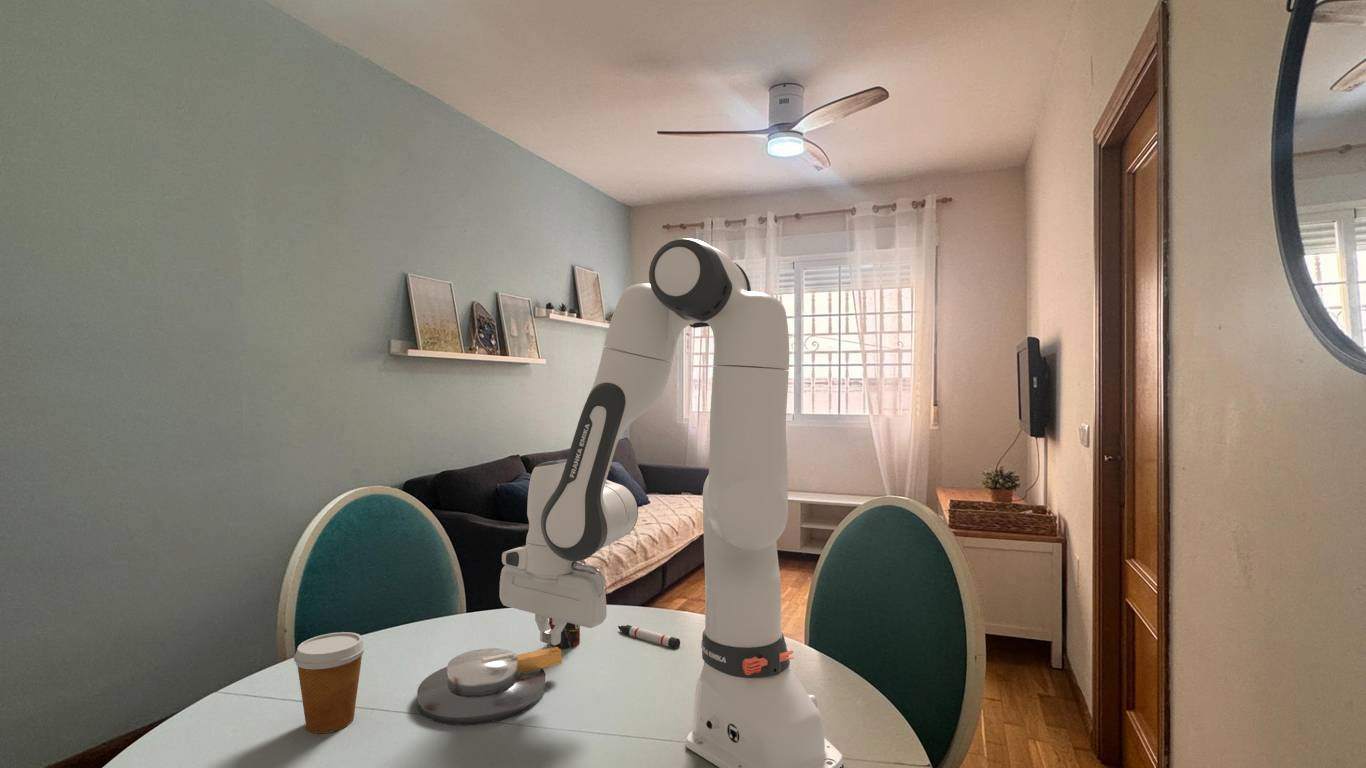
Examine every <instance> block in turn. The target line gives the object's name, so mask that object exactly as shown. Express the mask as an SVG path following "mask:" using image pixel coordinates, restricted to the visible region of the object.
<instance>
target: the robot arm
mask: <svg viewBox="0 0 1366 768" xmlns="http://www.w3.org/2000/svg"><path fill="white" fill-rule="evenodd" d="M648 280H649V282H647V283H646V282H644V283H642V282H641V283H637V284H636V283H635V284H632V285H630V286H628V287H626V288H625V289H624V290H623V292H622V293H621V295H620V297H619V299H618V301H617V303H616V306H615V309H614V311H613V314H612V317H611V318H610V322H609V325H608V328H607V331H606V336H605V340H604V344H603V348H602V353H601V356H600V357H601V358H600V362H599V363H598V364H599V365H598V369H597V372H596V375H595V379H594V382H593V385H592V387H591V389H590V393H588V396H587V398H586V401H585V403H584V406H583V408H582V412H581V414H580V417H579V420H578V423H577V425H576V429H575V433H574V436H573V439H572V442H571V444H570V445H571V446H570V449H569V452H568V455H567V458H563V459H556V460H551V461H545V462H541V463H538V464H537V465H536V466H535V467H534V468H533V470H532V472H531V475H530V479H529V484H528V493H527V505H526V506H527V507H526V509H527V510H526V511H527V512H526V515H527V519H528V524H529V526H528V527H529V528H528V532H527V534H526V538H525V540H526V541H525V544H524V545H522V546H518V547H515V548H512V549H508V550H506V551H503V552H502V554H501V563H502V565H504V566H503V567H502V568H501V571H500V577H499V578H500V579H499V599H500V602H501V604H502V605H503V606H505V607H508V608H512V609H516V610H520V611H522V612H523V611H524V612H526V613H530V614H534V620H535V622H536V625H537V628H538V630H539V635H540V637H539V641H540V642H542V643H545V644H548V645H549V644H552V645H557V644H559V643H560V641H561V632H562V631H563V629H564V627H565V625H566V624H567V622H568V623H572V624H576V625H580V627H583V628H584V627H585V628H588V629H592V628H595V627H597V626H599V625H601V624H603V622H605V620H606V619H607V598H606V588H605V579H606V578H605V575H604V574H603V573H602V571H600V570H599V568H598V567H597V566H596V565H587V564H585V563H581V562H582V561H585V560H586V559H589V558H590V557H591V556H593V555H595V554H596V553H597V552H599V551H601V549H603V548H606V547H607V546H610V545H612V544H614V543H615V542H618V541H619V540H621V539H622V538H624V537H625V536H627V535H628V534H630V533H631V532H632V531H633V530H634V528H635V526H636V524H637V521H638V517H639V506H638V503H637V499H636V497H635V495H634V494H633V492H632V491H631V490H630V489H629V488H628V487H627V486H625V485H623V484H621V483H617V482H613V481H611V480H608V475H609V473H610V469H611V464H612V462H613V458H614V455H615V451H616V448H617V445H618V443H619V441H620V439H621V437H622V435H623V434H624V432H625V431H626V430H627V428H628V427H629V426H630V425H631V424H632V423H633V422H634V421H635V420H636V419H637V418H639V417H640V416H641V415H643V414H644V413H645V412H647V411H649V410H650V409H651V408H653V407H655V405H656V404H657V403H658V402H659V401H660V399H661V397H662V395H663V393H664V391H665V388H666V386H667V384H668V381H669V378H670V373H671V370H672V366H673V361H674V356H675V350H676V347H677V346H676V345H677V343H678V339H679V337H680V334H681V333H682V332H683V330H684V329H685V328H687V327H691V328H693V329H694V328H695V329H697V328H706V327H710V329H711V331H712V334H713V338H714V339H713V342H714V350H713V351H714V352H713V353H714V354H713V362H712V364H713V366H712V382H711V394H710V395H711V396H710V411H709V412H710V413H709V458H708V459H709V465H708V466H709V467H708V475H707V476H706V478H705V481H704V482H703V487H702V488H703V489H702V520H703V521H702V525H703V553H704V554H703V558H704V560H703V561H704V593H705V594H704V599H705V600H704V602H705V603H704V608H705V609H704V623H705V624H704V625H705V628H704V630H703V631H702V638H701V643H700V644H701V646H700V649H701V657H702V660H703V661H704V662H703V667H702V670H701V673H700V675H699V678H698V680H697V681H696V682H697V683H696V687H695V695H694V706H693V707H694V708H693V709H694V710H693V717H692V718H693V720H692V729H691V731H690V732H689V733H688V734H687V736H686V739H685V746H686V748H687V749H689V750H690V751H692V752H694V753H695V754H697V755H699V756H700V757H702V758H703V759H705V760H707V761H708V762H710V763H711V764H713V765H715V766H716V767H718V768H840V767H841V768H842V766H843V764H844V759H843V758H844V757H843V754H842V753H841V752H840V751H839V750H838V749H837V748H836V747H835V746H834V745H833V744H832V743H831V742H830V741H829V740H828V739H827V738H826V737H825V732H824V723H823V719H822V715H821V713H820V711H819V709H818V701H817V699H816V696H815V695H814V694H810V693H809V694H808V693H807V691H806V689H805V688H804V686H803V685H802V683H801V682H800V681H799V679H798V677H797V676H796V674H795V673H794V672H793V669H792V668H791V666H790V665H791V664H790V663H791V662H790V661H791V660H793V659H795V658H794V656H790V655H792V654H793V653H794V650H788V646H787V642H786V639H785V637H784V633H783V632H782V592H781V591H782V579H781V574H780V573H781V572H780V571H781V570H780V565H779V555H778V546H777V540H778V539H779V538H780V537H781V535H782V534H783V533H784V531H785V529H786V526H787V523H788V519H789V518H788V517H789V502H788V501H789V499H788V498H789V496H788V495H789V480H788V479H789V475H788V473H789V472H788V471H789V470H788V469H789V468H788V447H787V444H788V443H787V430H786V429H787V428H786V427H787V406H788V393H789V392H788V389H789V374H790V373H789V372H790V371H789V370H790V340H789V339H790V337H789V325H788V319H787V318H788V317H787V312H786V308H785V307H784V305H783V304H782V302H781V301H780V300H779V299H778V298H776V297H774V296H772V295H770V294H767V293H764V292H759V291H752V287H751V283H750V280H749V277H748V275H747V273H746V272H745V270H744V269H743V268H742V267H741V266H740V265H739V264H737V263H736V262H735V261H733V260H732V259H731V258H730V257H729V255H728V254H726V253H725V252H723V251H722V250H720V249H718V248H716V247H713V246H711V245H710V244H708V243H706V242H704V241H702V240H700V239H695V238H689V237H688V238H686V237H685V238H677V239H673V240H671V241H668V242H667V243H665V244H664V245H662V246H661V247H660V248H659V249H658V250H657V252H656V253H655V254H654V256H653V258H652V260H651V262H650V265H649V270H648ZM549 618H552V624H553V625H555V626H554V629H553V630H552V629H551V628H550V625H549Z"/></svg>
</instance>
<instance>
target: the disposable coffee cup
mask: <svg viewBox="0 0 1366 768" xmlns="http://www.w3.org/2000/svg"><path fill="white" fill-rule="evenodd" d="M366 648H367V647H366V643H365V642H364V640H363V636H362V635H361V634H359V633H356V632H346V631H345V632H344V631H341V632H331V633H326V634H321V635H317V636H314V637H311V638H309V639H306V640H304V641H302V642H301V643H300V644H299V645H298V646H297V648H296V653H295V654H294V655H293V661H294V662H295V665H296V666H297V671H298V672H297V673H298V677H299V679H298V680H299V688H300V692H301V699H302V707H303V714H304V721H305V728H306V731H307V732H309V733H312V734H327V733H328V734H329V733H333V732H335V731H339V730H341V729H344V728H345V727H347V726H349V725H350V724H352V723H353V721H354V718H355V712H356V703H357V695H358V689H359V681H360V673H361V664H362V658H363V654H364V652H365V650H366Z"/></svg>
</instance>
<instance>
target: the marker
mask: <svg viewBox="0 0 1366 768" xmlns="http://www.w3.org/2000/svg"><path fill="white" fill-rule="evenodd" d="M617 628H618V629H619V631H620V632H621V633H624V635H626V636H629V635H630V636H629V637H632V636H634V637H633V638H636V637H637V639H639V638H640V640H643V639H644V640H643V641H646V640H647V642H650V641H651V642H650V643H653V642H654V644H657V645H660V644H661V645H660V646H664V647H667V646H668V647H667V648H671V647H672V649H675V648H676V649H678V648H679V647H680V646H681V640H680V638H677V637H674V636H672V635H671V636H670V635H667V634H663V633H659V632H656V631H652V630H648V629H645V628H641V627H638V626H634V625H629V624H626V625H621V626H620V625H618V626H617ZM677 647H678V648H677Z"/></svg>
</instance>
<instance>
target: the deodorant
mask: <svg viewBox="0 0 1366 768" xmlns="http://www.w3.org/2000/svg"><path fill="white" fill-rule="evenodd" d="M548 622H549V625H550V628H551V629H552V630H553V629H554V626H555V625H553V624H552V618H548ZM580 642H581V626H580V625H576V624H572V623H568V622H567V624H566V625H565V627H564V629H563V631H562V632H561V641H560V643H559V644H557V645H552V644H548V646H549V647H550V648H553V647H558V648H559V649H560V650H568V649H573V648H574V647H577V646H579V644H580Z"/></svg>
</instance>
